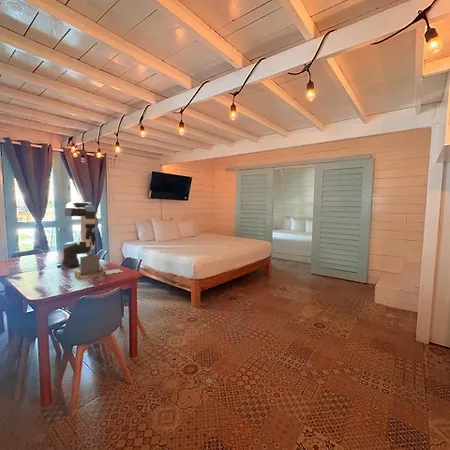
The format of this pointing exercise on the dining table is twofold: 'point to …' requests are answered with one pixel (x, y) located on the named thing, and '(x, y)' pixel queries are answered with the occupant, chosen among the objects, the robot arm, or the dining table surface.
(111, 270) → the mat
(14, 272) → the dining table surface
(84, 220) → the robot arm
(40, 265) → the dining table surface
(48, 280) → the dining table surface
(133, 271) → the dining table surface
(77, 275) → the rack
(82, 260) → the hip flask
